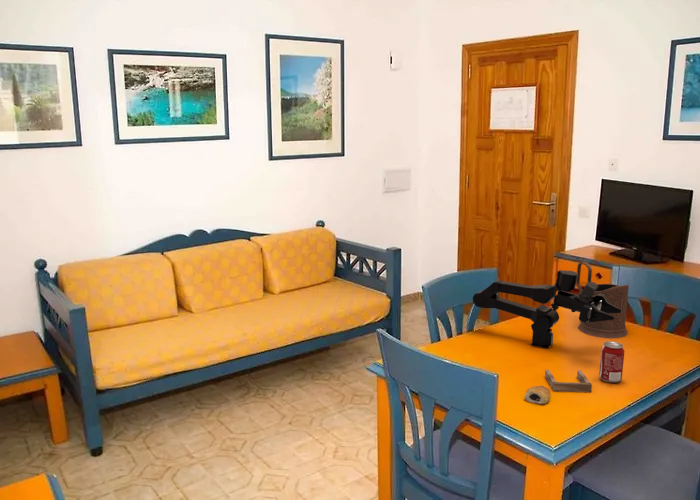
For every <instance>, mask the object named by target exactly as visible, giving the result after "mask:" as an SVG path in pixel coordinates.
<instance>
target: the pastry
mask: <svg viewBox="0 0 700 500" xmlns="http://www.w3.org/2000/svg"><path fill="white" fill-rule="evenodd" d="M525 391H526V393H525V395H524V399H525V401H527V402H529V403H531V404H532V403H533V404H539V405H546V404H548V403H549V401H550V398H551V395H552V394H551V390H550V389H549V387H546V386H544V385H536V386H531V387H529V388H528V389H527V390H525Z"/></svg>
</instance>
